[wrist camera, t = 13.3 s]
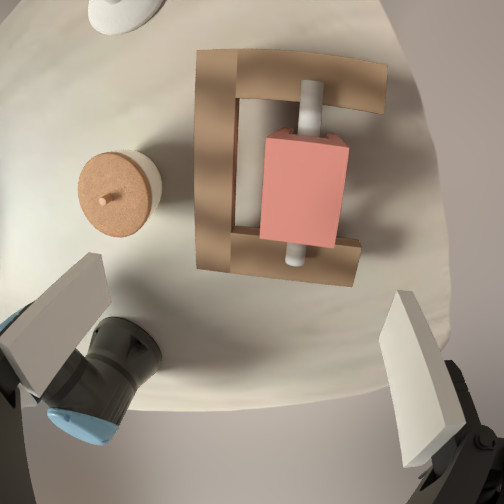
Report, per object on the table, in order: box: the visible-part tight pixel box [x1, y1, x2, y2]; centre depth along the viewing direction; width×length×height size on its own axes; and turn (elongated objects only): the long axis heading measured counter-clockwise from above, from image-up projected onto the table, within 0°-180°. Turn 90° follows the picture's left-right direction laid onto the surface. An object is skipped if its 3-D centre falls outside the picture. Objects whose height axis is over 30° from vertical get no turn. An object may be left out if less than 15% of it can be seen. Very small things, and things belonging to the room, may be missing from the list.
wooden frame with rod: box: [194, 49, 388, 287], centre depth 31 cm, size 24×18×10 cm
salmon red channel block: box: [260, 128, 349, 248], centre depth 27 cm, size 8×6×12 cm
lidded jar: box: [78, 150, 162, 237], centre depth 35 cm, size 11×11×9 cm
